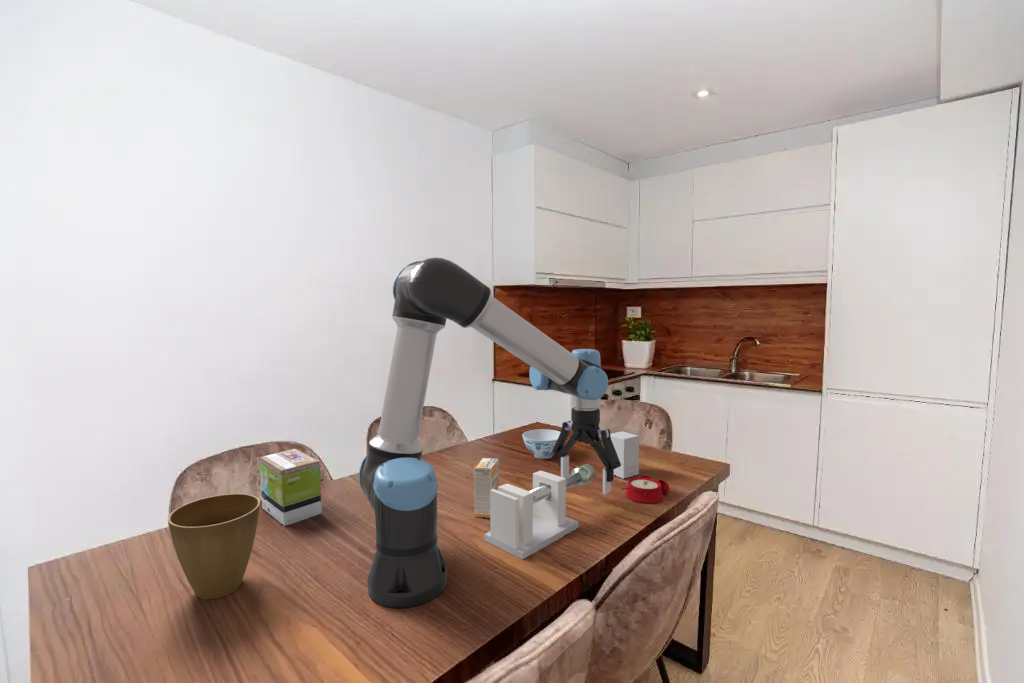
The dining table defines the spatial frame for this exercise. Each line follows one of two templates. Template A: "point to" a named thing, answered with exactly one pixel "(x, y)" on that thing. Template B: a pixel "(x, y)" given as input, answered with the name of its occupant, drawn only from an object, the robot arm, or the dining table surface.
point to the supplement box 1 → (485, 485)
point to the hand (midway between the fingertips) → (585, 485)
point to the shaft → (567, 482)
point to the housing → (528, 516)
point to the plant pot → (215, 541)
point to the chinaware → (541, 442)
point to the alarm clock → (646, 489)
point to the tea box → (290, 486)
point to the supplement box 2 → (626, 453)
